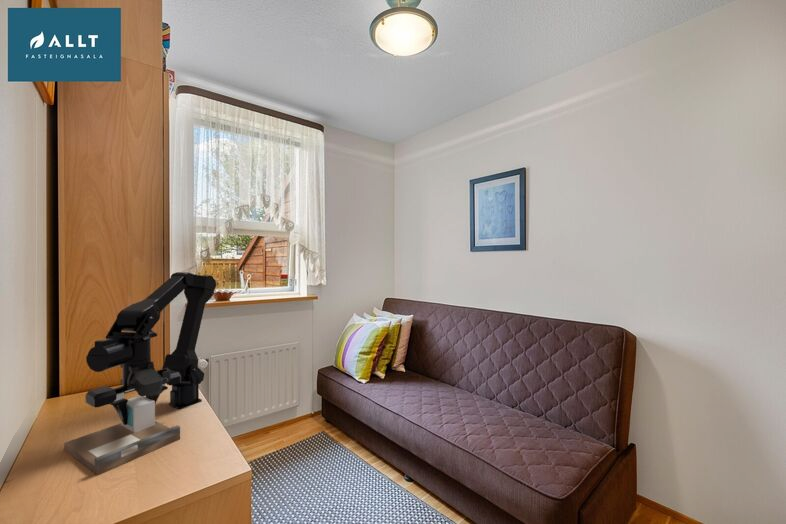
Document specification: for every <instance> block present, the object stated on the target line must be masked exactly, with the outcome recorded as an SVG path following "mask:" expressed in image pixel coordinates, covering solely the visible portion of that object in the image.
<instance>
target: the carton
mask: <svg viewBox="0 0 786 524" xmlns="http://www.w3.org/2000/svg"><path fill="white" fill-rule="evenodd" d="M127 400H128V402H127V404H126V406H127V417H128V421H127V425H124V424H123V422H122V420H121V419H120V423H121V425H122V426H124V427H125V428H127V429H129V430H131V431H132V432H134V433H135V432H138V431H140V430H143V429H146V428H148V427H151V426H153V425H155V421H156V404H155V401H153V400H151V399H149V398H146V396H140V395H138V396H136V397H135V396H134V397H132V398H129V399H127Z"/></svg>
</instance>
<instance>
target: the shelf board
mask: <svg viewBox="0 0 786 524" xmlns="http://www.w3.org/2000/svg"><path fill="white" fill-rule="evenodd" d="M179 440H181V425H174V426H172V427H168V426H167V425H164V424H163V423H161V422H159V421H156V420H155V425H153V426H151V427H148V428H146V429H143V430H140V431H138V432H135V433H134V432H132V431H131V430H129V429H127V428H125V427H124V426H122V425H121V422H120V423H116V424H113V425H111V426H108V427H104V428H102V429H99V430H97V431H94V432H92V433H91V432H90V433H89V434H85V435H83V436H80V437H77V438H75V439H71V440H69V441H65V442H63V450H64V451H66V453H68V454H70V455H71V456H72V457H74V459H76V460H77V461H78V462H79V463H81V464H82V465H83V466H84V467H86V468H88V470H89V471H91V472H92V473H94V474H95V475H97V476H100V475H102V474H103V473H106V472H107V471H110V470H112V469H114V468H118V467H120V466H122V465H124V464H127V463H129V462H131V461H134V460H136V459H137V458H140V457H143V456H144V455H147V454H149V453H151V452H154V451H156V450H158V449H159V450H160V449H161V448H163V447H165V446H166V447H167V445H168V446H169V444H172V443H175V442H176V441H179Z"/></svg>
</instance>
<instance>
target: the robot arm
mask: <svg viewBox="0 0 786 524" xmlns="http://www.w3.org/2000/svg"><path fill="white" fill-rule="evenodd" d="M216 287H217V281H216V279H214V277H213V276H212V275H209V274H207V275H205V274H204V275H201V274H200V275H199V274H194V273H191V272H189V271H188V272H187V271H186V272H185V271H184V272H180V271H177V272H176V271H175V272H174V273H172V274H171V275H170V277H169V278H168V279H167V280H166V281H165V282H163V283H162V284H161V285H160V286H159V287H158V288H156V289H155V290H154V291H152V293H151V294H150V295H148V296H147V297H146V298H145V299H142V300H141V301H137V302H134V303H132V304H130V305H129V306H127V307H125V308H123V309H121V310H120V311H119V312H118V314H117V315H116V319H115V320H114V323H113V324H112V326H111V327H110V328H109V330H108V332H107V334H106V336H105V339H99V340H95V341H94V346H93V347H91V348H90V349H89V351H88V352H87V355H86V359H85V360H86V364H87V366H88V368H89V369H90V370H92V371H94V372H96V373H100V372H101V373H102V372H103V371H107V370H111V369H112V368H115V367H119V366H120V368H121V369H122V378H121V379H120V384H121V386H117V387H114V388H112V387H110V386H108V385H105V386H101V387H96V388H93V389H89V390H88V391H87V392H86V394H85V403H86V404H88V405H89V406H91V407H93V408H100V407H104V406H108V405H110V406H112V407H113V408H114V410H115V411H116V413H117V415H118V417H119V418H120V421H121V420H122V422H123V424H124V425H127V421H128V417H127V406H126V404H127V402H128V399H127V398H125V395H126V394H128V393H133V392H137V395H138V396H144V397H146V398H149V399H151V400H153V401H155V405H156V403H157V402H158V399H159V398H160V395H161V394H162V393H163V392H164V391H166V390H168V389H169V387H168V386H171V390H170V391H169V395H170V396H169V403H168V406H172V407H174V408H177V409H179V410H182V409H184V408H188V407H191V406H193V405H196V404H198V403H201V402H202V400H203V399H201V398H200V397H199V396H200V395H199V393H200V392H199V388H200V387H199V386H200V385H201V384H202V382H203V381H204V378H205V372H204V371H203V370H202V369H200V368H199V358H198V355H197V353H196V348H197V347H196V346H197V342H198V339H199V338H198V337H199V332H200V328H201V324H202V319H203V315H204V311H205V306H206V304H207V303H208V302H209V301H210V300H211V298H212V297H213V295H214V293H215V290H216ZM182 292H183V293H184V296H185V299H186V307H185V310H184V313H183V314H184V315H183V318H182V322H181V327H180V330H179V335H178V338H177V339H178V340H177V343H176V345H175V346H176V347H175V349H174V351H172V353H169V354H166V355H165V357H164V363H163V365H162V368H160V369H157V370H156V369H155V365H154V361H152V360H151V359H152V357H151V356H152V354H151V351H152V350H151V347H152V346H151V345H152V344H151V340H152V338H155V337H158V333H156V331H153V330H152V329H153V328H154V327H155V325H156V324H157V323H158V321H160V319H161V314H162V312H163V310H164V309H165V308H167V306H169V304H171V303H172V302H173V301H174V299H176V298H177V297H178V296H179V295H180V294H181V293H182ZM199 384H200V385H199ZM166 385H167V386H166Z"/></svg>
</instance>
